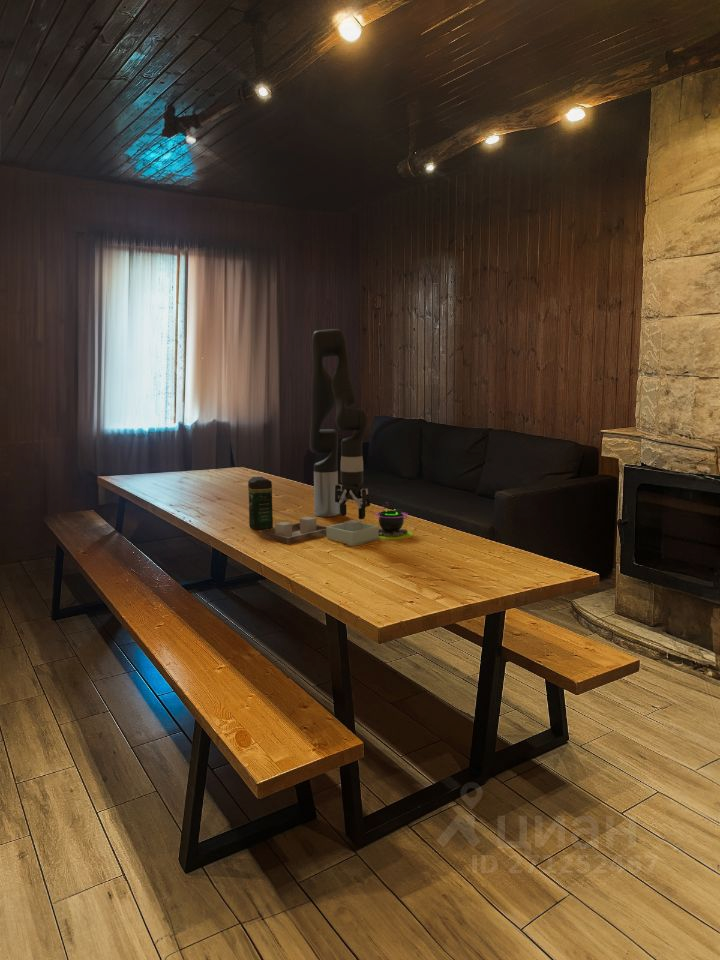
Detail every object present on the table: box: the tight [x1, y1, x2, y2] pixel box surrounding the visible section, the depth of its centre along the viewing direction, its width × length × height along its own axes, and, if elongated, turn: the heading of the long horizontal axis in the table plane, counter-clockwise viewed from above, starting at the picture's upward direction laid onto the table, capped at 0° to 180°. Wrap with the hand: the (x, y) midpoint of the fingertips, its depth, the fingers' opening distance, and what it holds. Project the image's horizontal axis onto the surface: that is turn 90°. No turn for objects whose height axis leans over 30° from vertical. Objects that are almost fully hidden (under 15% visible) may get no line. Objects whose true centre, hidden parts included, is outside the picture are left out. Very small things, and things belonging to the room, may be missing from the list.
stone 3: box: [343, 519, 362, 532], centre depth 237 cm, size 4×4×5 cm
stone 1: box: [274, 521, 293, 537], centre depth 235 cm, size 4×4×5 cm
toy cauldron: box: [374, 502, 414, 540], centre depth 242 cm, size 15×15×11 cm
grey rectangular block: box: [299, 516, 317, 534], centre depth 243 cm, size 4×4×5 cm
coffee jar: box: [247, 476, 274, 531], centre depth 251 cm, size 10×8×19 cm
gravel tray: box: [259, 522, 327, 545], centre depth 239 cm, size 19×14×3 cm
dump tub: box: [326, 522, 379, 547], centre depth 235 cm, size 12×12×5 cm
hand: (352, 517), depth 237 cm, fingers open, 8 cm apart
